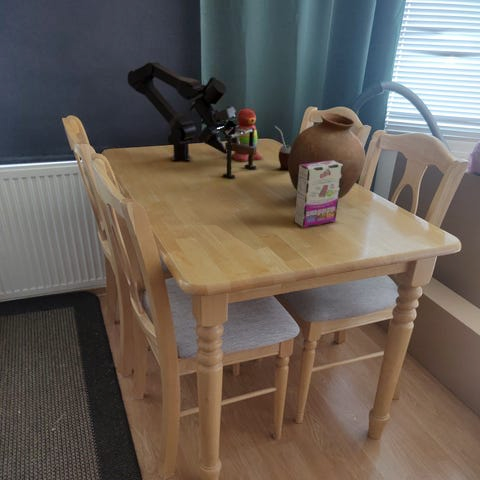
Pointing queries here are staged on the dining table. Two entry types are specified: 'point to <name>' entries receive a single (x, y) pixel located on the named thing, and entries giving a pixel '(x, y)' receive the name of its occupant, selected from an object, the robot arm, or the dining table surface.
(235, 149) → the hanger
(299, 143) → the pottery
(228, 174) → the clothes rail
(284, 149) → the mate gourd
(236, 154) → the stacking bear
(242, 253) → the dining table surface
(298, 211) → the candy bar box
